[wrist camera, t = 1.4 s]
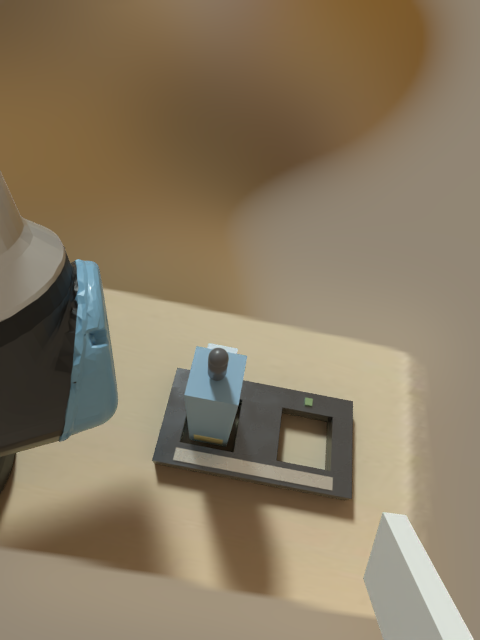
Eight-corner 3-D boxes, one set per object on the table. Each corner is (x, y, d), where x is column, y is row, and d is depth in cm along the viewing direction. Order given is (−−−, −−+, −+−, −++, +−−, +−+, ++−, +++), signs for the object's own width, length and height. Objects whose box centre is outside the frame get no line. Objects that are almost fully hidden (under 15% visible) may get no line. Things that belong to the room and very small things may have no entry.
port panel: (154, 463, 38) (151, 459, 36) (178, 374, 44) (177, 366, 42) (344, 500, 38) (352, 498, 36) (346, 406, 43) (353, 400, 41)
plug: (189, 440, 40) (181, 376, 24) (199, 397, 42) (198, 312, 26) (226, 447, 40) (243, 388, 24) (233, 403, 42) (254, 323, 26)
